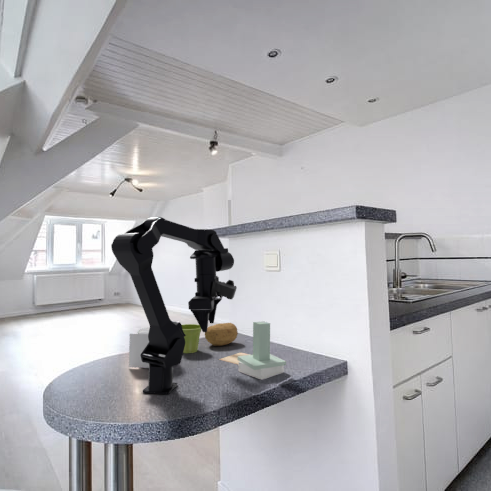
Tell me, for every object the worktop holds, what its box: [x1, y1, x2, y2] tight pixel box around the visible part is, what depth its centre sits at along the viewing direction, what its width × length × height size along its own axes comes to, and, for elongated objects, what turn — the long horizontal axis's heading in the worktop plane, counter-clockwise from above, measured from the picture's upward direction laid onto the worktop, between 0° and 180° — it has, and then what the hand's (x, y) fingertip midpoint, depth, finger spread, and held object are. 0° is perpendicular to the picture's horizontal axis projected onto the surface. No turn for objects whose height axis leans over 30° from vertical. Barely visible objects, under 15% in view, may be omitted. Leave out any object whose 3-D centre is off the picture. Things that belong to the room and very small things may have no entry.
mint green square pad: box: [218, 352, 251, 366], centre depth 105 cm, size 11×11×1 cm
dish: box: [238, 362, 285, 381], centre depth 93 cm, size 9×9×3 cm
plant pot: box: [181, 323, 202, 354], centre depth 115 cm, size 9×9×9 cm
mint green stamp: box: [237, 320, 287, 370], centre depth 94 cm, size 10×10×11 cm
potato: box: [204, 322, 238, 347], centre depth 124 cm, size 10×14×8 cm
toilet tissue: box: [128, 327, 166, 369], centre depth 101 cm, size 11×12×10 cm
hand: (208, 327), depth 96 cm, fingers open, 9 cm apart
